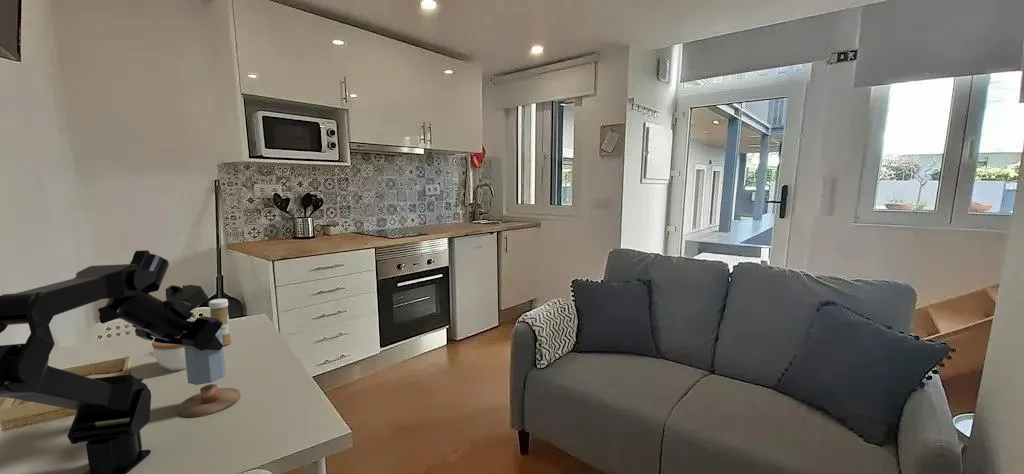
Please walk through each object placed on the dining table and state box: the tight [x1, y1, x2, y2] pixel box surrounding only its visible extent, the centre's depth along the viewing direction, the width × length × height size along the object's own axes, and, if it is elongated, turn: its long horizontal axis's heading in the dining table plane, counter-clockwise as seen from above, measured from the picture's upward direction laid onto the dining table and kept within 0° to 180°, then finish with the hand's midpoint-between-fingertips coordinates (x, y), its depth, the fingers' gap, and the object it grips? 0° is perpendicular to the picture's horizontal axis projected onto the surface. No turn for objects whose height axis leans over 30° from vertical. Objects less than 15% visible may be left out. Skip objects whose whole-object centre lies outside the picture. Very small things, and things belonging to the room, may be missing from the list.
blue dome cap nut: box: [184, 329, 227, 386], centre depth 90 cm, size 6×6×10 cm
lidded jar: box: [151, 340, 187, 372], centre depth 109 cm, size 11×11×9 cm
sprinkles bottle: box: [208, 298, 232, 347], centre depth 122 cm, size 5×5×13 cm
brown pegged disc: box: [177, 383, 241, 418], centre depth 91 cm, size 11×11×4 cm
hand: (210, 345), depth 91 cm, fingers closed on blue dome cap nut, 6 cm apart
